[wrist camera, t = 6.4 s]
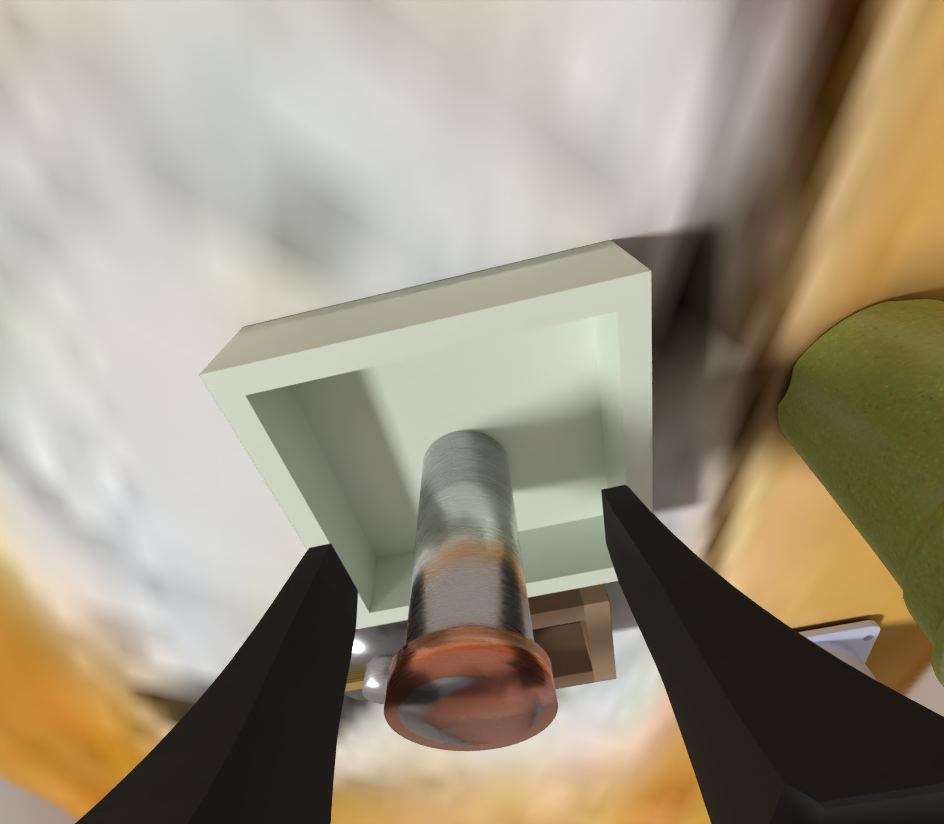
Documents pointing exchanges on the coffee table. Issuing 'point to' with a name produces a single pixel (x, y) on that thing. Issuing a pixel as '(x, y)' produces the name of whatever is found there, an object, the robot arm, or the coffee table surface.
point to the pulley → (373, 660)
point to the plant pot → (882, 441)
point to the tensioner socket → (575, 634)
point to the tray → (453, 411)
